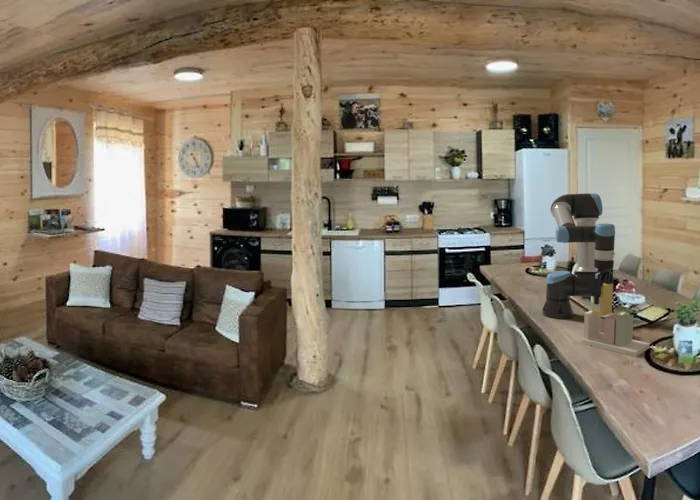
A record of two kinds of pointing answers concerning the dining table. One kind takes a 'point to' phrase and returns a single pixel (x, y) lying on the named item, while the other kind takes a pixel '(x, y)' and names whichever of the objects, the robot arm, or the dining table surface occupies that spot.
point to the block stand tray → (613, 334)
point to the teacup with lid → (603, 321)
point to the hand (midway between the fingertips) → (602, 308)
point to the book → (605, 300)
